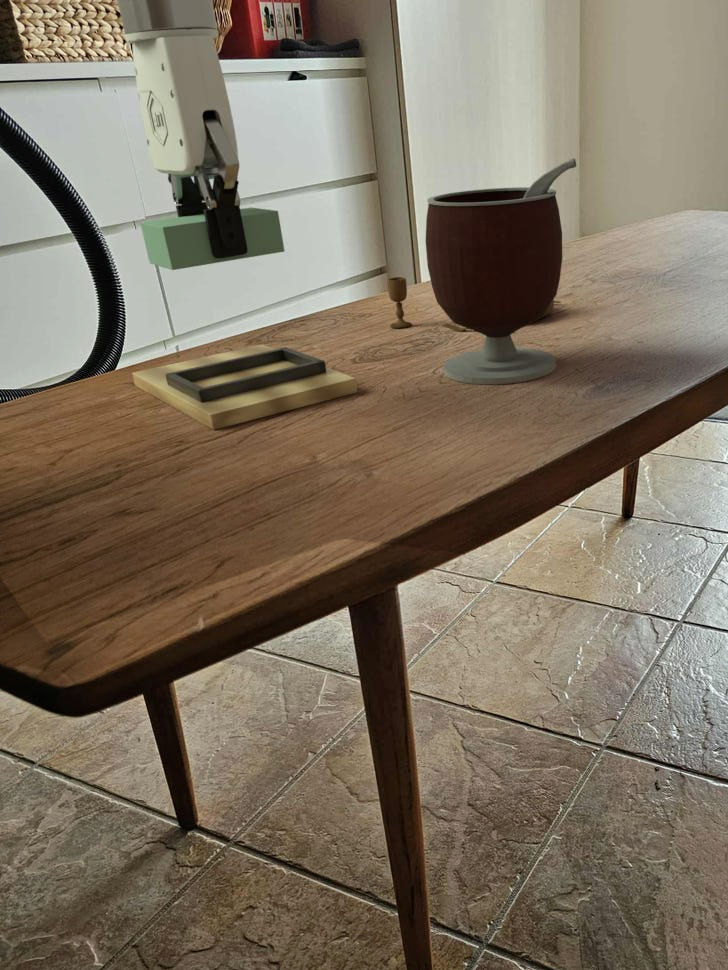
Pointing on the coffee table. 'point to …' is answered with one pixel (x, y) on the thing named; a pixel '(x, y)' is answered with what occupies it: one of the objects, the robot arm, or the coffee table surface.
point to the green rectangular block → (190, 243)
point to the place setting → (399, 294)
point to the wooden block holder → (244, 384)
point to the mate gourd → (496, 272)
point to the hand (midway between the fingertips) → (216, 250)
